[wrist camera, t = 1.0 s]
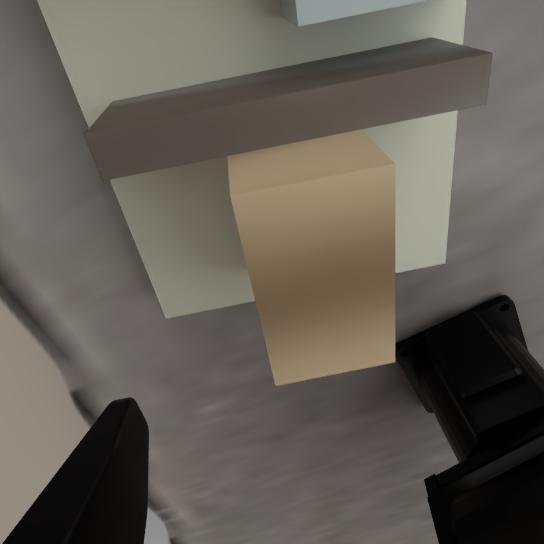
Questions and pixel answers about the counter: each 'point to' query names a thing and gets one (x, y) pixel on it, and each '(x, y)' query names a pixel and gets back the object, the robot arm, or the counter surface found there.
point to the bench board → (214, 173)
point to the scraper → (304, 184)
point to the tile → (333, 9)
